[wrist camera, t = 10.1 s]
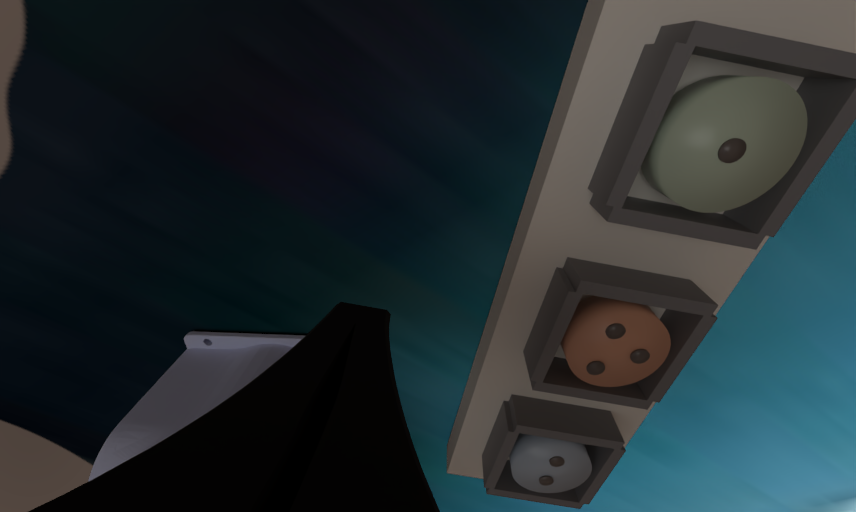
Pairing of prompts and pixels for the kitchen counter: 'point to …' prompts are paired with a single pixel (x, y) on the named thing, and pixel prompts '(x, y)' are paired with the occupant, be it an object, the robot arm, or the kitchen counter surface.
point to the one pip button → (725, 141)
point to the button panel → (636, 218)
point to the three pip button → (614, 342)
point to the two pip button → (549, 464)
